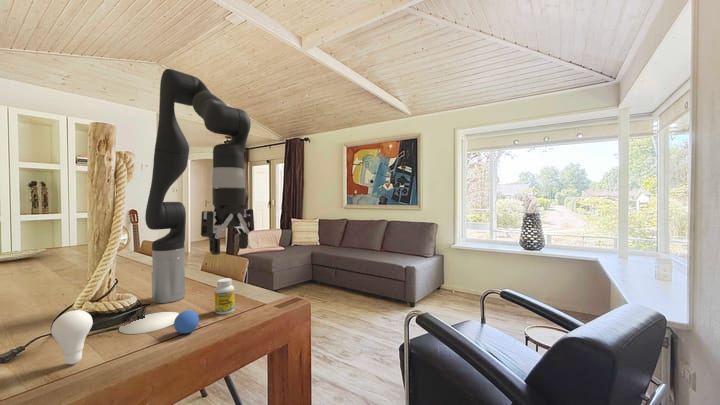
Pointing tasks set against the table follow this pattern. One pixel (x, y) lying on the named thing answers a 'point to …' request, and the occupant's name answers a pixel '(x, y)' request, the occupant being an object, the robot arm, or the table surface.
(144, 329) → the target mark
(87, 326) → the lightbulb
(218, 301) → the supplement bottle
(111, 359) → the table surface
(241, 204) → the robot arm
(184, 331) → the ball
